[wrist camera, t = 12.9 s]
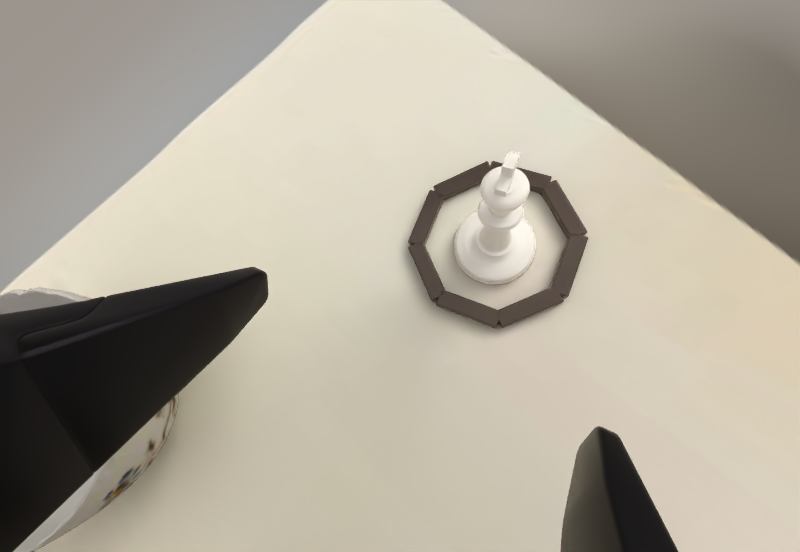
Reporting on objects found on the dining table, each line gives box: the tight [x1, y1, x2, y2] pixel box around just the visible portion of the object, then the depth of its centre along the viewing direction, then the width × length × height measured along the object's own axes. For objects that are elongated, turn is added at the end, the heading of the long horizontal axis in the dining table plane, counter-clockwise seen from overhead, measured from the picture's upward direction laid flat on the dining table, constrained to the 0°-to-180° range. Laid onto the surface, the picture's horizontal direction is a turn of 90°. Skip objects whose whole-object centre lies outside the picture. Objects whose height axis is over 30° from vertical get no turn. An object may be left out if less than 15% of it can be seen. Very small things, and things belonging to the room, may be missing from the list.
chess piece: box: [454, 151, 536, 285], centre depth 18 cm, size 5×5×10 cm
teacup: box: [0, 287, 179, 552], centre depth 21 cm, size 15×12×8 cm
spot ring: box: [408, 161, 588, 328], centre depth 23 cm, size 10×10×1 cm
